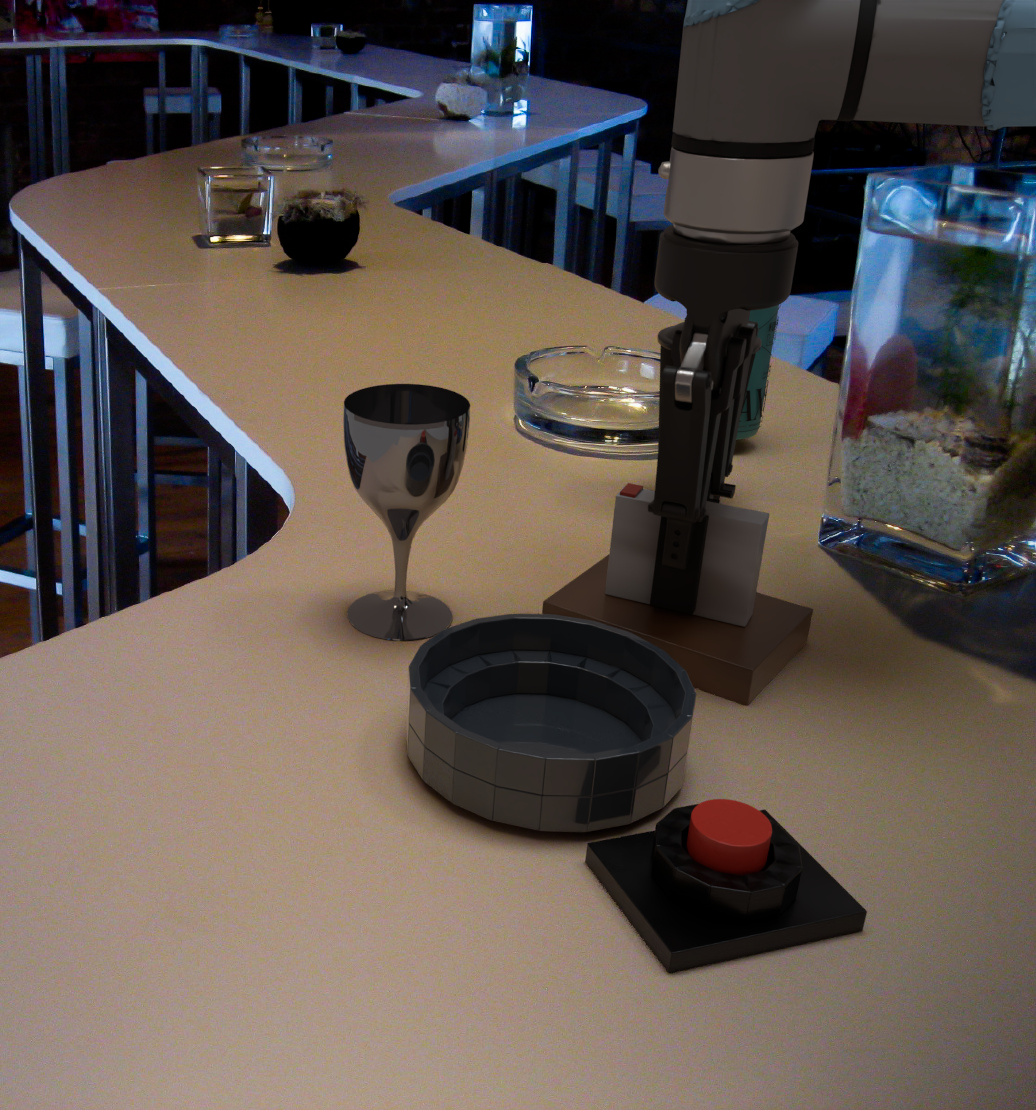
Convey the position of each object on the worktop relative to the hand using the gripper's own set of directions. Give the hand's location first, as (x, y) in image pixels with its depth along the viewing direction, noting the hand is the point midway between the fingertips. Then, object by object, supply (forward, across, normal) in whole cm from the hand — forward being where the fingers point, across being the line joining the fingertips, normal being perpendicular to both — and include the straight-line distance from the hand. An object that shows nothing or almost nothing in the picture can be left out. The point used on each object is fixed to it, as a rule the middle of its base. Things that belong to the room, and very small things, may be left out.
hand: (678, 598), depth 83 cm
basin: (+3, +17, -3) cm, 17 cm away
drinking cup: (+3, -23, -5) cm, 24 cm away
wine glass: (+3, +6, -17) cm, 18 cm away
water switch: (+3, +24, +9) cm, 26 cm away
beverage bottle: (+3, -38, -6) cm, 39 cm away
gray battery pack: (0, 0, 0) cm, 0 cm away
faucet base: (+3, 0, 0) cm, 3 cm away
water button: (0, +24, +9) cm, 25 cm away
